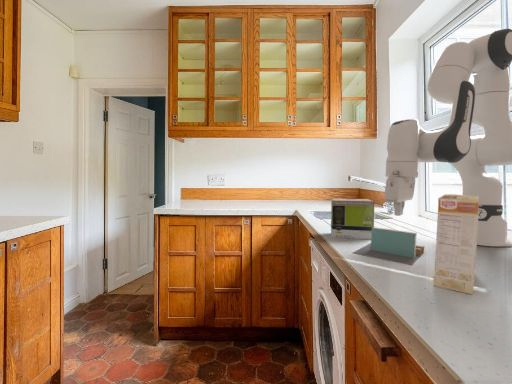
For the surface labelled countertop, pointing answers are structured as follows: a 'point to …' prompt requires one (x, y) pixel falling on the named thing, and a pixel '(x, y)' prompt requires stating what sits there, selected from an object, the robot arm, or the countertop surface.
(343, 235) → the tea box
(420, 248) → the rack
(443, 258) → the coffeecake box
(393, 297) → the countertop surface
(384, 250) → the tile
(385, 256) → the mat
